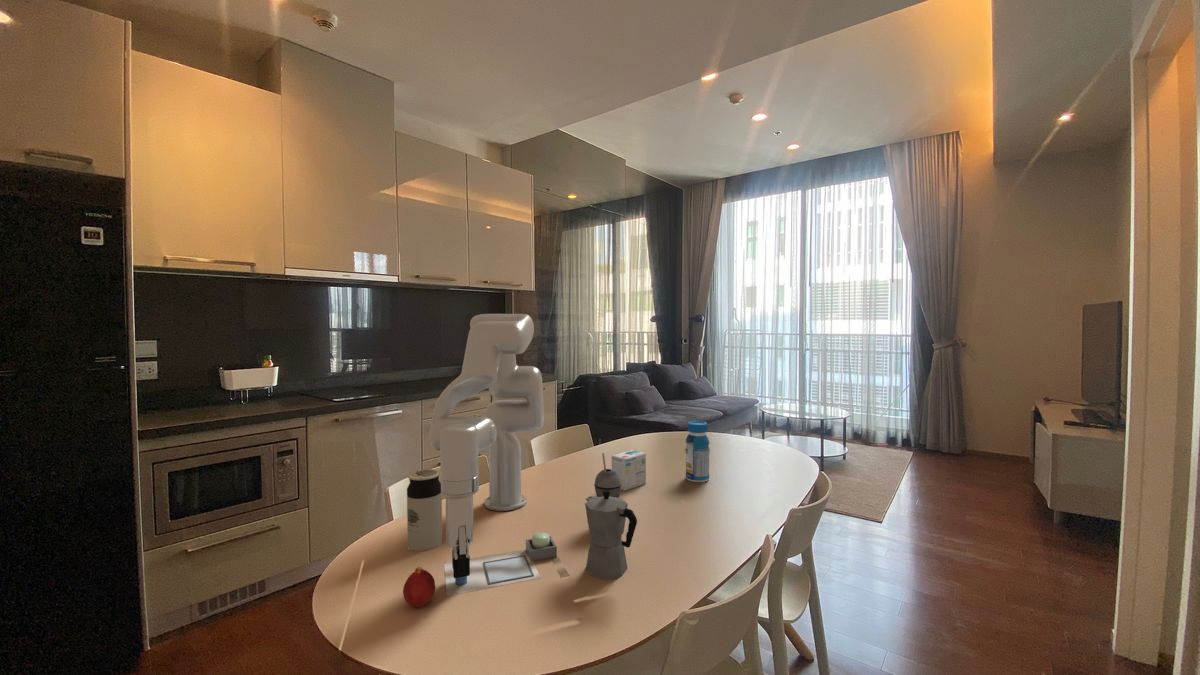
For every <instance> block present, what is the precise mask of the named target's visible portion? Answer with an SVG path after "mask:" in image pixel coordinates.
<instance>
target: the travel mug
mask: <svg viewBox="0 0 1200 675" xmlns="http://www.w3.org/2000/svg"><path fill="white" fill-rule="evenodd" d="M440 476H441V470H440V471H439V469H434V468H433V469H430V468H429V469H420V470H418V469H417V470H415V471H413V472H410V473H409V474H408V475H407V478H408V479H409V484H408V486H407V488H406V508H407V509H406V510H407V511H406V512H407V513H406V514H407V515H406V516H407V517H406V518H407V520H406V522H407V549H408V548H409V549H408V550H411V551H413V550H414V551H415V552H424V551H430V550H433V549H435V548H437V547H439V546H440V545H442V544H443V506H442V505H443V501H442V500H443V499H442V498H443V496H442V495H441V480H439V478H440Z"/></svg>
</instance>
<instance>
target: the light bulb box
mask: <svg viewBox="0 0 1200 675" xmlns="http://www.w3.org/2000/svg"><path fill="white" fill-rule="evenodd" d="M646 454H647V453H646V452H644V451H639V450H634V449H630V450H627V451H624V452H620V453H617V454H611V470H613V471H615V472H616V473H617V474H618V476H619V478H620V483H621V486H620V491H625V492H626V491H629V490H631V489H634V488H637V487H640V486H643V485H646V484H647V461H646V460H647V455H646Z"/></svg>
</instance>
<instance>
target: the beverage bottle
mask: <svg viewBox="0 0 1200 675" xmlns="http://www.w3.org/2000/svg"><path fill="white" fill-rule="evenodd" d="M687 432H688V434H687V437H686V438H685V443H686V446H685V448H684V451H685V478H686V479H687V481H690V482H692V483H693V482H694V483H705V481H706V482H708V481H709V480H710V452H711V451H710V447H709V445H710V439H709V437H708V436H707V433H708V423H707V422H706V421H700V420H692V421H688V422H687Z"/></svg>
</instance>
